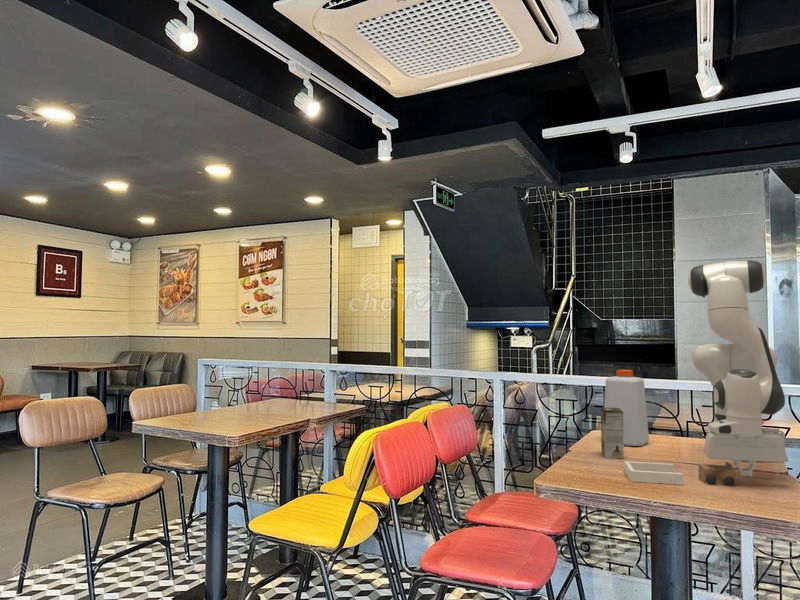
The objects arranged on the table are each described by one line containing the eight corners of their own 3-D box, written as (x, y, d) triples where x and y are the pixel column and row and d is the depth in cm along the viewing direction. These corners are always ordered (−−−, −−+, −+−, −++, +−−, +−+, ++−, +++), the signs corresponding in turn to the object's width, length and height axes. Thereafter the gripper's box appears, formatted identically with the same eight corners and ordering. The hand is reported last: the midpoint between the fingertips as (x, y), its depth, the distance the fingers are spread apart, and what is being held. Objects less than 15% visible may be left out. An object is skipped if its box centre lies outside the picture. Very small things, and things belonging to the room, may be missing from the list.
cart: (727, 480, 167) (727, 461, 167) (736, 486, 159) (736, 467, 160) (698, 478, 168) (697, 459, 169) (705, 484, 161) (704, 465, 162)
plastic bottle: (612, 437, 231) (611, 368, 232) (651, 442, 221) (650, 370, 223) (598, 443, 219) (598, 370, 221) (639, 448, 210) (638, 372, 211)
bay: (672, 473, 173) (672, 463, 173) (683, 485, 160) (682, 474, 160) (624, 470, 176) (624, 461, 176) (630, 481, 163) (630, 471, 164)
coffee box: (600, 452, 202) (600, 407, 203) (619, 453, 201) (619, 407, 202) (604, 458, 193) (604, 410, 194) (624, 459, 192) (624, 411, 193)
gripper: (780, 427, 164) (781, 475, 163) (702, 423, 168) (703, 471, 168) (789, 430, 158) (791, 481, 157) (708, 427, 162) (709, 476, 162)
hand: (745, 476), depth 162 cm, fingers closed
